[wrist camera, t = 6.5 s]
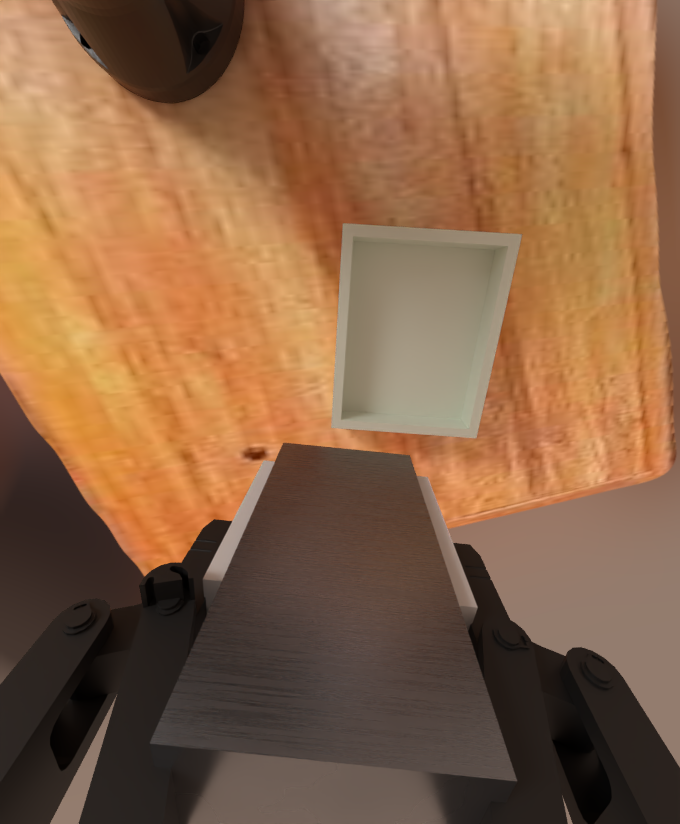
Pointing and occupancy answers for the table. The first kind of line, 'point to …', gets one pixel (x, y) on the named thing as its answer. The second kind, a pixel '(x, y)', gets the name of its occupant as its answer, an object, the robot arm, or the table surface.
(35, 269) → the table surface
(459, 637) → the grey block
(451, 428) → the tray
